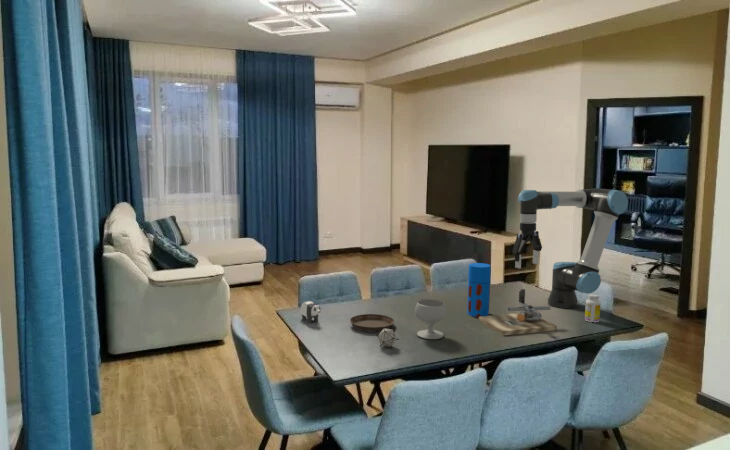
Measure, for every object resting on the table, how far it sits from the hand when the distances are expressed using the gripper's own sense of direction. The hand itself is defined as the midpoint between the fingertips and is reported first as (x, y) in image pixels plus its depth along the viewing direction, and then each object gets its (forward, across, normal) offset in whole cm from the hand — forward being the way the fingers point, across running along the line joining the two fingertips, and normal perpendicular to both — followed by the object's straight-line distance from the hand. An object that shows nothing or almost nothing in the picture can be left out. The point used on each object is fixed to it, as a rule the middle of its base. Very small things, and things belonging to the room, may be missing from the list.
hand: (526, 265), depth 266 cm
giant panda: (+24, +88, -57) cm, 107 cm away
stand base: (+26, +13, +5) cm, 29 cm away
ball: (+23, +13, +7) cm, 28 cm away
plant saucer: (+25, +69, -34) cm, 81 cm away
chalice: (+25, +56, -9) cm, 62 cm away
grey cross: (+23, +9, +8) cm, 26 cm away
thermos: (+26, +14, -18) cm, 35 cm away
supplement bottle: (+27, -22, +22) cm, 41 cm away
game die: (+24, +80, -10) cm, 84 cm away
